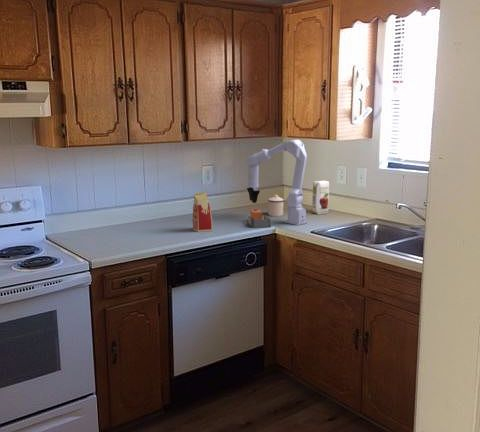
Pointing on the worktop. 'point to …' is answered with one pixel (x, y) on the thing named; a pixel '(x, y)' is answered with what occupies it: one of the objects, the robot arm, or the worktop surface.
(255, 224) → the coupler channel
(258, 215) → the block
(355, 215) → the worktop surface
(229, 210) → the worktop surface
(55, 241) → the worktop surface
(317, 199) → the juice carton
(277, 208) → the teacup with lid
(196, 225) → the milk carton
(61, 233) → the worktop surface
